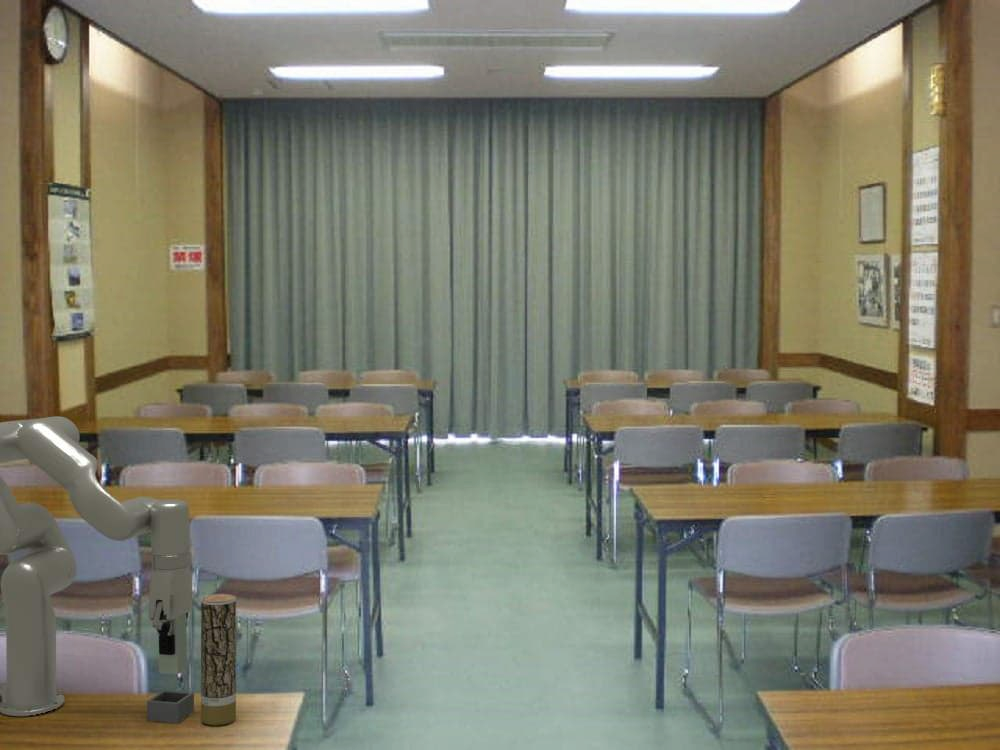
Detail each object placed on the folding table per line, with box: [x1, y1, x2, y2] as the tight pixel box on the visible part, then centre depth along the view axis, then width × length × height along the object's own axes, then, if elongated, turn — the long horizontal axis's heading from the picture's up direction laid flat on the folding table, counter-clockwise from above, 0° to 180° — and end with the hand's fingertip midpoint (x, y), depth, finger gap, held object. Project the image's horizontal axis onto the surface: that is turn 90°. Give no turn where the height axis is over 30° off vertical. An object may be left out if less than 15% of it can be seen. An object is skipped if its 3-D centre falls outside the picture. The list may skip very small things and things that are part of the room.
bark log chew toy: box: [200, 593, 237, 727], centre depth 222 cm, size 7×7×25 cm
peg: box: [158, 612, 188, 675], centre depth 224 cm, size 4×4×12 cm
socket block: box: [146, 689, 195, 725], centre depth 225 cm, size 7×7×4 cm
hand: (172, 650), depth 224 cm, fingers closed on peg, 4 cm apart
